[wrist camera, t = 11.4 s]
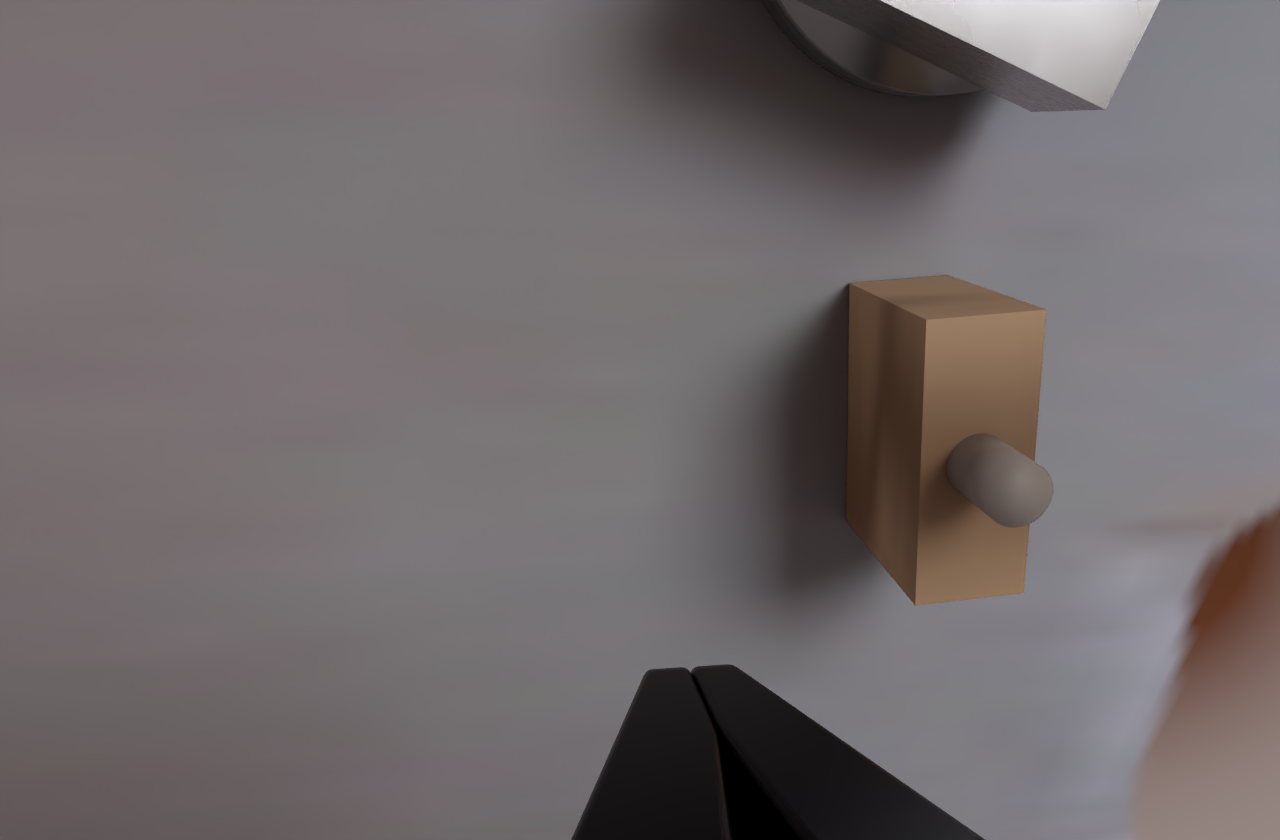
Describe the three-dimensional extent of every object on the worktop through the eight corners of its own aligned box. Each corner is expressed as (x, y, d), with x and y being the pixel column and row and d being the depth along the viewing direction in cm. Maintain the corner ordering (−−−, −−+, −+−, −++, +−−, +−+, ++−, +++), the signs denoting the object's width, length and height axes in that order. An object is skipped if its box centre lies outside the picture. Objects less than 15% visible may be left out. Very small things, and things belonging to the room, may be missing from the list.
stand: (936, 511, 22) (1067, 633, 16) (846, 521, 22) (949, 646, 16) (947, 274, 20) (1096, 327, 15) (849, 282, 20) (965, 338, 15)
